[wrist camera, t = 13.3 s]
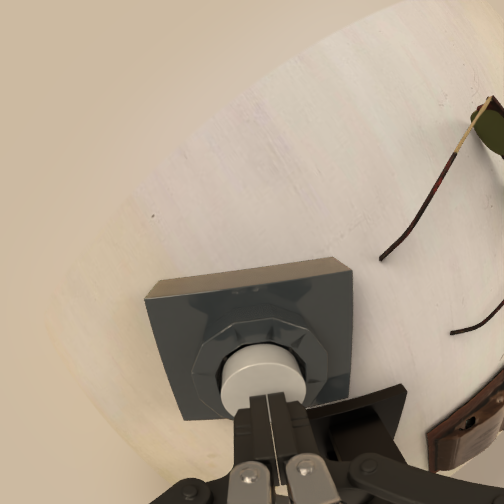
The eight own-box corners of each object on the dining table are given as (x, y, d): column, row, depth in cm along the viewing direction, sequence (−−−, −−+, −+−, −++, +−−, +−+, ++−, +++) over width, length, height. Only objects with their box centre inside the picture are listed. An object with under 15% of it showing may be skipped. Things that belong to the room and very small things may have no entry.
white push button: (229, 406, 14) (229, 427, 12) (215, 348, 13) (213, 369, 11) (300, 396, 14) (307, 416, 12) (297, 337, 13) (305, 356, 11)
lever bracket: (294, 461, 21) (316, 558, 10) (291, 412, 20) (324, 537, 8) (387, 436, 22) (432, 516, 10) (401, 383, 20) (470, 473, 8)
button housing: (189, 392, 19) (180, 440, 14) (158, 280, 17) (132, 312, 12) (334, 371, 19) (357, 415, 14) (333, 256, 17) (367, 279, 12)
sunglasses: (522, 217, 18) (556, 227, 13) (448, 334, 21) (476, 362, 16) (455, 101, 15) (495, 92, 10) (357, 242, 18) (389, 264, 13)
